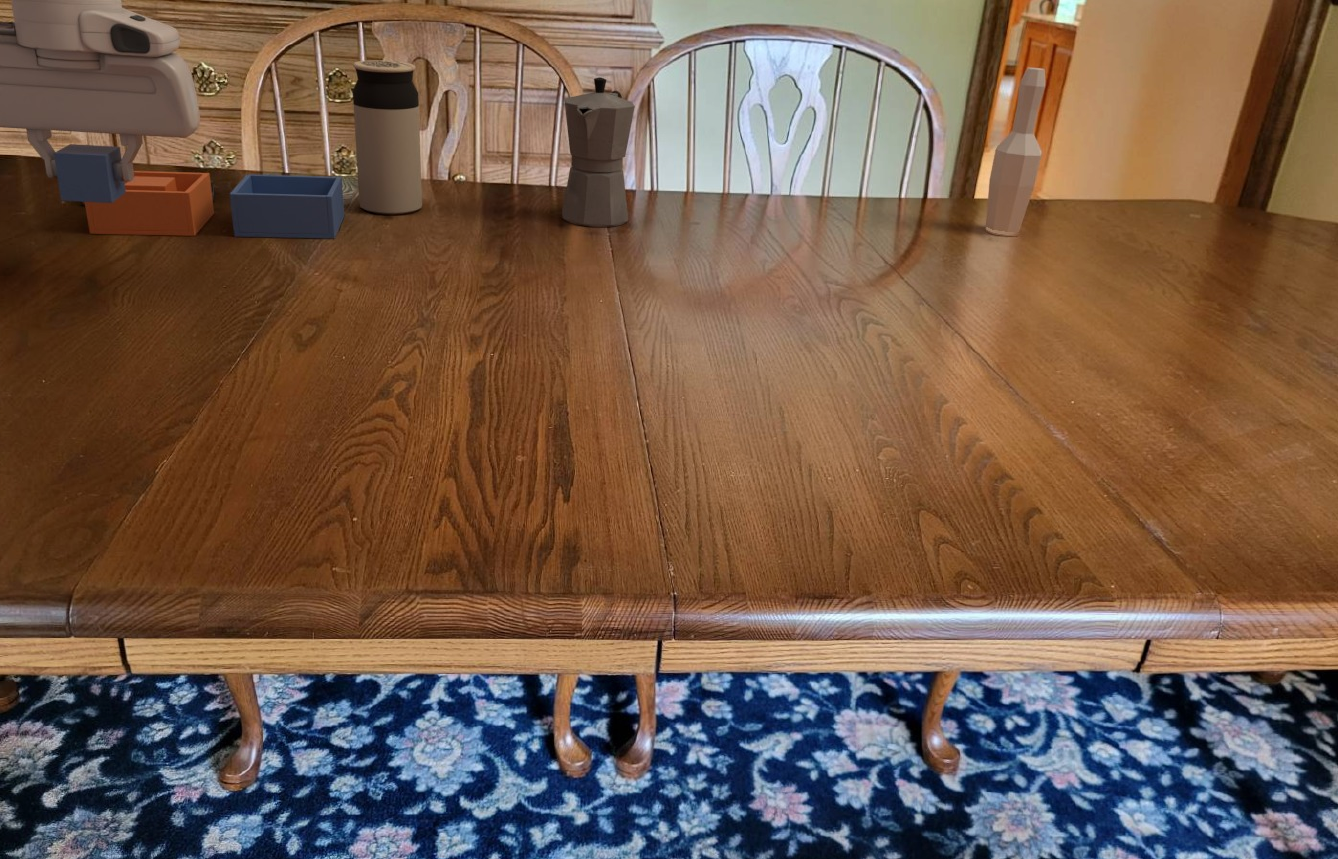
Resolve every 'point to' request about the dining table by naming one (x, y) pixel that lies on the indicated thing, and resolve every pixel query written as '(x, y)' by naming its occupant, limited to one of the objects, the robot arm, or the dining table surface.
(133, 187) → the orange block
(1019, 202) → the low poly bottle
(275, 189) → the blue bin
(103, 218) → the orange bin
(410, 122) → the travel mug
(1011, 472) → the dining table surface
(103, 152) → the blue block
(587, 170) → the coffeepot
